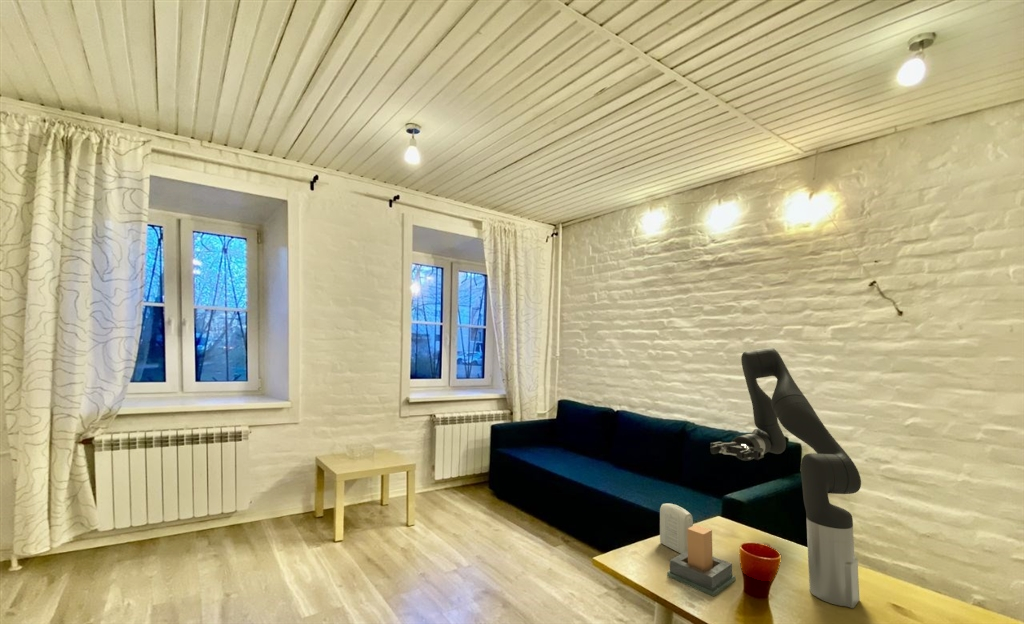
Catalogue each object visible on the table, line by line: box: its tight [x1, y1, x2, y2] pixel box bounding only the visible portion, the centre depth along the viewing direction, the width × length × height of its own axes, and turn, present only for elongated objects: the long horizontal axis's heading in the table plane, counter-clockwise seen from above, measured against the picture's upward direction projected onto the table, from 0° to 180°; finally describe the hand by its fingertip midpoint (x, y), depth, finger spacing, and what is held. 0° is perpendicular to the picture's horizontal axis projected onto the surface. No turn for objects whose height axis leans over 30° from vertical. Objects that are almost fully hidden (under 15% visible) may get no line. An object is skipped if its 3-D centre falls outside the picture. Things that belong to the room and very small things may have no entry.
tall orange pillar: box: [687, 524, 714, 571], centre depth 113 cm, size 4×4×11 cm
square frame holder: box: [666, 550, 736, 597], centre depth 112 cm, size 12×12×4 cm
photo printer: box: [659, 502, 694, 554], centre depth 130 cm, size 10×4×12 cm, turn 28°
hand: (726, 453), depth 132 cm, fingers open, 8 cm apart
